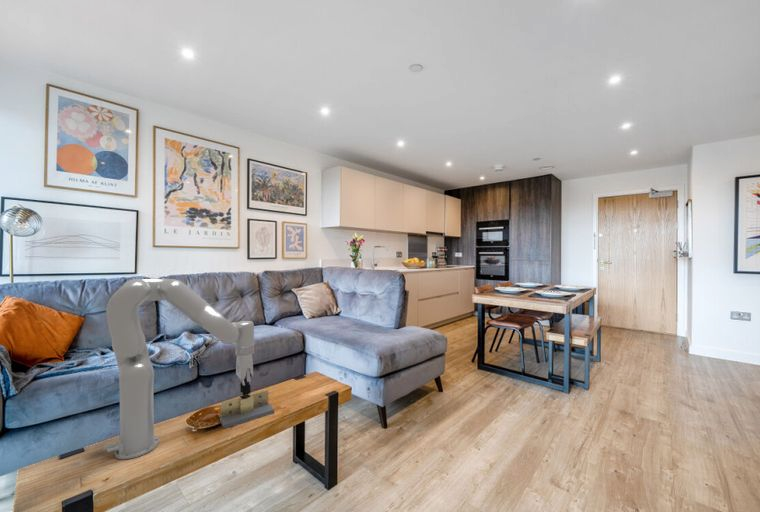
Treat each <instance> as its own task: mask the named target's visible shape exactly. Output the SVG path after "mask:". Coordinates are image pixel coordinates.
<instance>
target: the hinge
mask: <svg viewBox="0 0 760 512" xmlns="http://www.w3.org/2000/svg"><path fill="white" fill-rule="evenodd" d="M268 403H269V390H264V391H259V392H256V393H249V397H248V398H244V399H243V394H241V395H237V397H236V398H233V399H229V400H226V401H222V402H220V410H221V418H223V417H226V416H229V415H233V414H236V413H240V414H245V413H248V412H252V411H254V408H257V407H261V406H264V405H268Z"/></svg>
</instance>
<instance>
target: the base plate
mask: <svg viewBox="0 0 760 512" xmlns="http://www.w3.org/2000/svg"><path fill="white" fill-rule="evenodd" d="M272 414H275V409H274V407H273V406H272V405H271V404H270V403H269V402H268V405H264V406H261V407H257V408H254V411H252V412H248V413H245V414H240V413H236V414H233V415H229V416H226V417H223V418H221V415H220V416H219V417H220V419H221V422H220V424H221V427H222V429H226V428H230V427H234V426H237V425H240V424H242V423H247V422H250V421H253V420H255V419H259V418H262V417H265V416H269V415H272Z"/></svg>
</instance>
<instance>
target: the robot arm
mask: <svg viewBox="0 0 760 512" xmlns="http://www.w3.org/2000/svg"><path fill="white" fill-rule="evenodd" d="M151 301H155V302H156V301H166V302H167V303H168V304H170V305H171V306H172V307H174V308H175V309H176V310H177V311H179V312H180V313H181V314H182V315H184V316H185V317H186V318H188V319H189V320H190V321H191V322H192V323H195V324H196V325H198V326H200V327H201V328H203V329H204V330H205V331H207V332H208V333H209V334H210V335H212V336H213V337H214V338H216V340H217V341H219V342H221V343H222V344H224V345H227V346H229V345H233V344H234V352H235V353H234V354H235V356H236V361H235V362H236V363H235V364H236V365H235V374H236V376H237V377H238V379H240V380H239V381H240V393H242V394H241V395H245V394H249V393H251V392H252V391H251V390H252V389H251V381H252V379H251V378H253V377H254V361H253V360H254V358H253V354H255V325H254V322H253V321H252V320H240V321H237V322H235V321H233V322H232V321H229V320H228V319H227V318H225V316H223V315H222V314H221V313H220V312H218V311H217V310H216V309H215V308H214V307H213V306H212V305H211V304H210V303H208V302H207V301H206V300H205V299H204V298H202V297H201V296H200V295H199V294H198V293H196V292H195V291H194V290H193V289H192V288H190V287H189V286H188V285H187V284H186V283H184V282H183V281H181V280H178V279H175V278H164V279H163V278H162V279H161V278H132V279H129V280H127V281H125V282H124V283H123V284H122V285H121V287H120V288H119V289H117V290H116V291H114V293H113V294H112V296H111V297H110V298H109V300H108V303H107V305H106V308H105V309H106V310H105V312H106V313H105V314H106V320H107V321H106V322H107V324H108V325H107V326H108V329H109V330H108V331H109V334H110V338H111V347H112V351H113V353H114V355H115V360H116V364H117V367H118V371H119V373H118V376H119V380H118V381H119V433H120V434H119V436H120V437H119V439H118V440H116V441H115V442H112V443H107V444H104V445H103V448H102V449H103V450H102V452H106V453H107V454H108V453H113V452H114V457H115V458H116V459H118V460H128V459H134V458H138V457H141V456H143V455H146V454H148V453H150V452H152V451H153V450H154V449H156V447H158V446H159V444H160V437H158V436H156V435H155V424H154V423H155V418H154V414H155V413H154V412H155V411H154V409H155V407H154V406H155V405H154V403H155V402H154V387H155V386H154V382H155V370H154V367H153V363H152V360H151V359H150V355H149V350H148V346H147V342H146V341H147V340H146V336H145V334H144V332H143V329H142V325H141V322H140V316H139V307H140V306H141V304H142V303H144V302H151ZM246 379H247V380H246ZM242 380H243V384H242ZM251 394H252V393H251Z"/></svg>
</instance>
